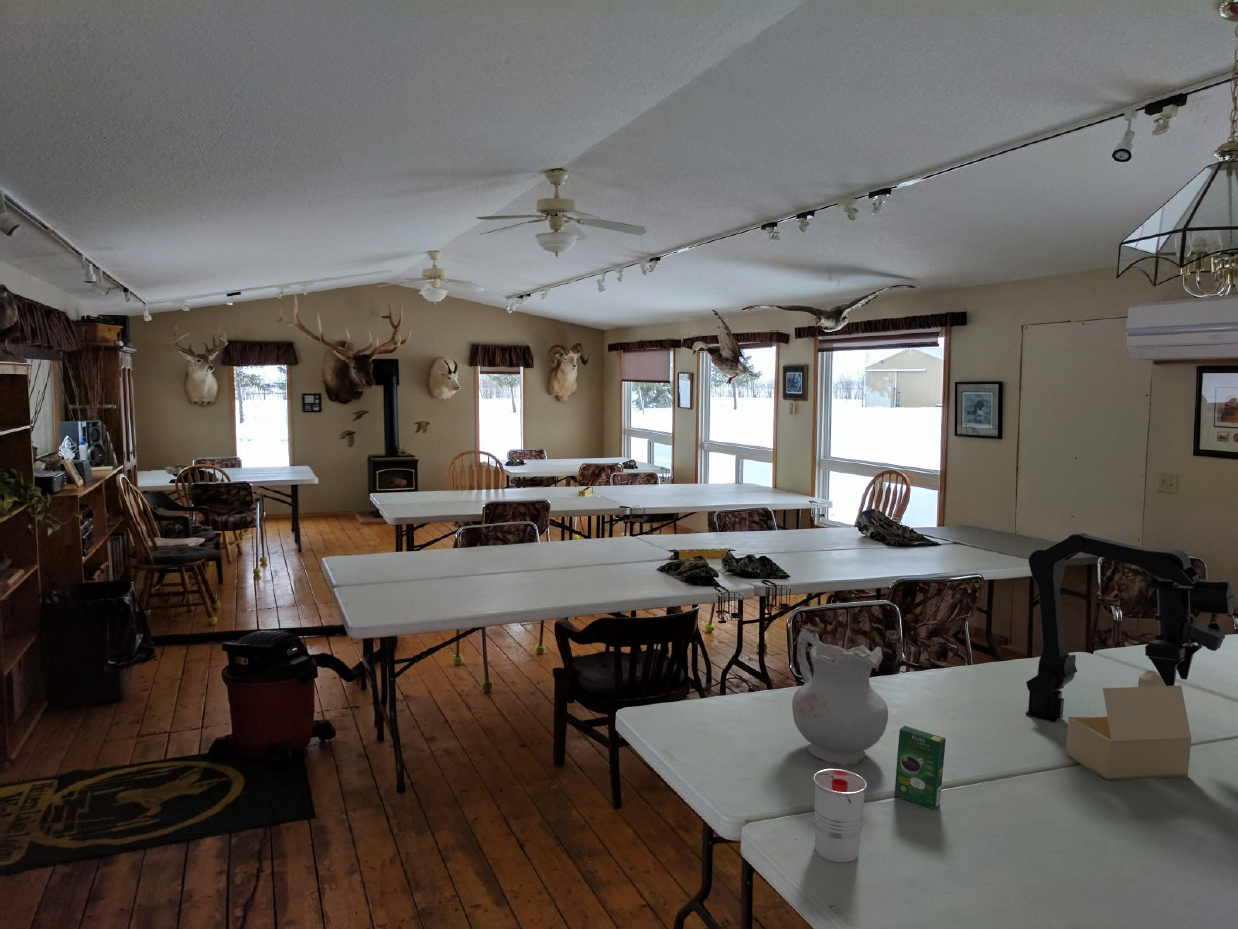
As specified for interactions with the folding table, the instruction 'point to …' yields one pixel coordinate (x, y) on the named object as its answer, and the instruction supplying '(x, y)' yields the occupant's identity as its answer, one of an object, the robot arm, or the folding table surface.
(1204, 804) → the folding table surface
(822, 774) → the striped cup with float
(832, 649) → the ceramic pitcher
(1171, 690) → the carton flap
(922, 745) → the coffee box
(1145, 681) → the candle
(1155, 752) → the carton
